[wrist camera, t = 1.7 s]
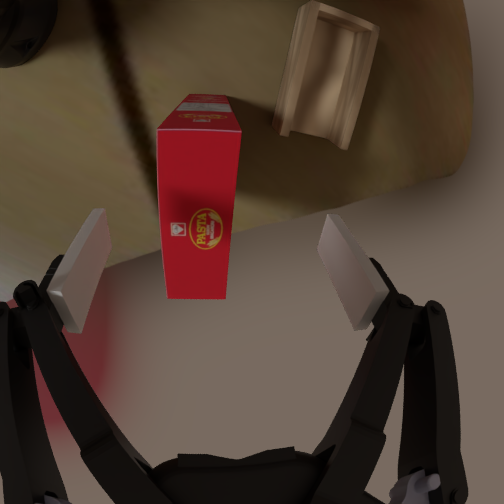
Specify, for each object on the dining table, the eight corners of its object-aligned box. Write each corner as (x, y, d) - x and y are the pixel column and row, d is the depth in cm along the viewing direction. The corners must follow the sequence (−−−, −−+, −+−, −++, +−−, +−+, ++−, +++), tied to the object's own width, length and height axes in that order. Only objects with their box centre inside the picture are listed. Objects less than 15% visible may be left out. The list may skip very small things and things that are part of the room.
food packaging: (217, 184, 44) (225, 299, 25) (185, 183, 43) (167, 298, 24) (225, 95, 36) (241, 131, 16) (189, 94, 35) (156, 128, 15)
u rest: (271, 126, 39) (279, 135, 35) (298, 7, 27) (311, 0, 23) (331, 139, 42) (347, 150, 37) (360, 29, 30) (380, 27, 25)
